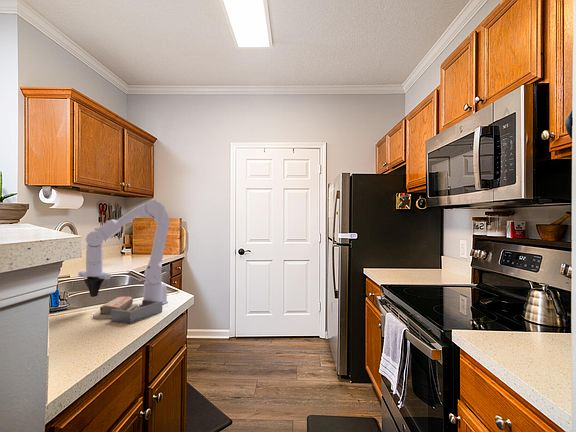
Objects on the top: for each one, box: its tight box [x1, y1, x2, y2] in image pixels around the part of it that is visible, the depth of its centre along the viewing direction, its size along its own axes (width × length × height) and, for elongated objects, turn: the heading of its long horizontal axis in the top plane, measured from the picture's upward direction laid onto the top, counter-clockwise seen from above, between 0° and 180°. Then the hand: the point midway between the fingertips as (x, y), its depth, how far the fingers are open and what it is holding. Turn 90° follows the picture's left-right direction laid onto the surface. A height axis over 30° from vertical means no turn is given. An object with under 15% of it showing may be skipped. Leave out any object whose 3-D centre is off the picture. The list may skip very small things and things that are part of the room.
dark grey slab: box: [110, 299, 163, 325], centre depth 134 cm, size 17×8×4 cm, turn 161°
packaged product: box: [92, 296, 139, 320], centre depth 139 cm, size 18×5×10 cm
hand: (94, 296), depth 141 cm, fingers closed
